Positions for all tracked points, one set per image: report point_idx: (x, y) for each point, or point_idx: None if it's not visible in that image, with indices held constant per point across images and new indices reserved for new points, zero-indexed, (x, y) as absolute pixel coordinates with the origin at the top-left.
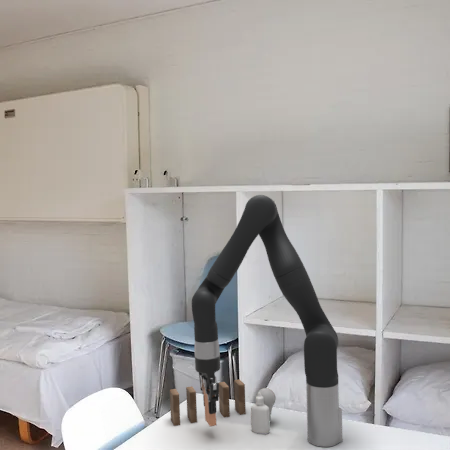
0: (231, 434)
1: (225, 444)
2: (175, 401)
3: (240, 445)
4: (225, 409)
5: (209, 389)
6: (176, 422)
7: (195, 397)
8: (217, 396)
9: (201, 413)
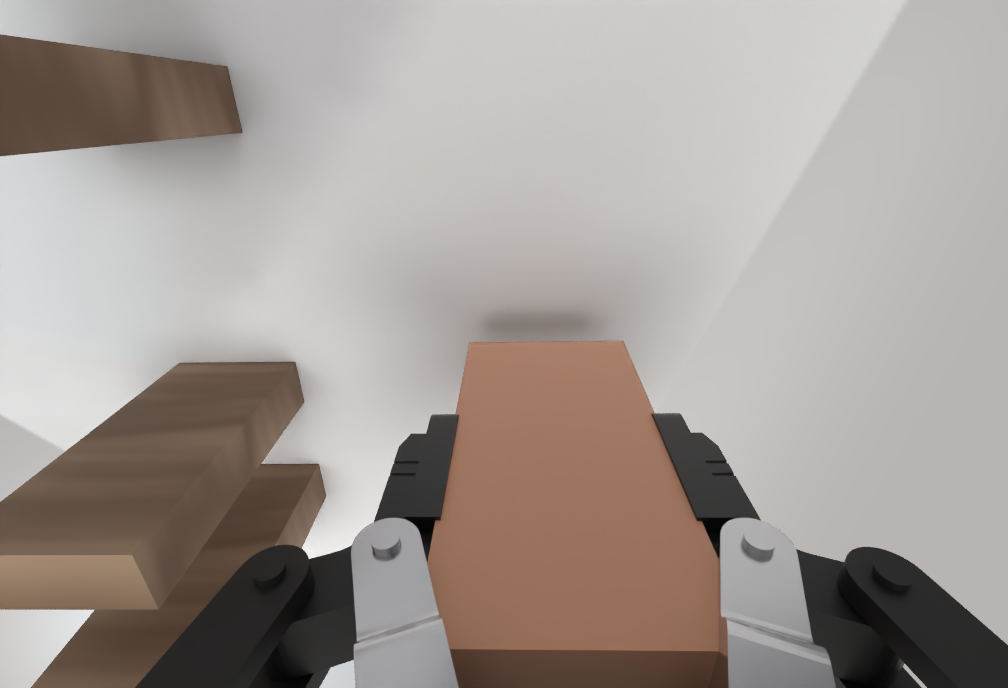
0: (592, 169)
1: (727, 266)
2: None
3: (810, 158)
4: (193, 114)
5: (552, 680)
6: (315, 498)
7: (180, 504)
8: (995, 657)
9: (131, 295)
